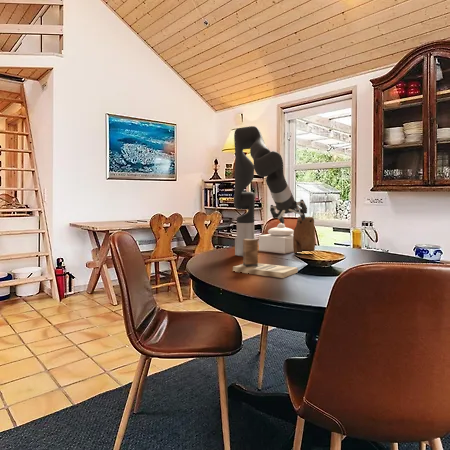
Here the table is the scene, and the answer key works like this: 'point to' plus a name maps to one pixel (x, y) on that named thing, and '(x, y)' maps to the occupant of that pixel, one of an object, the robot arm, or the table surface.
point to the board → (267, 270)
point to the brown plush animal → (304, 235)
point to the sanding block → (250, 252)
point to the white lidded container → (277, 240)
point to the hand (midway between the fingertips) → (293, 220)
